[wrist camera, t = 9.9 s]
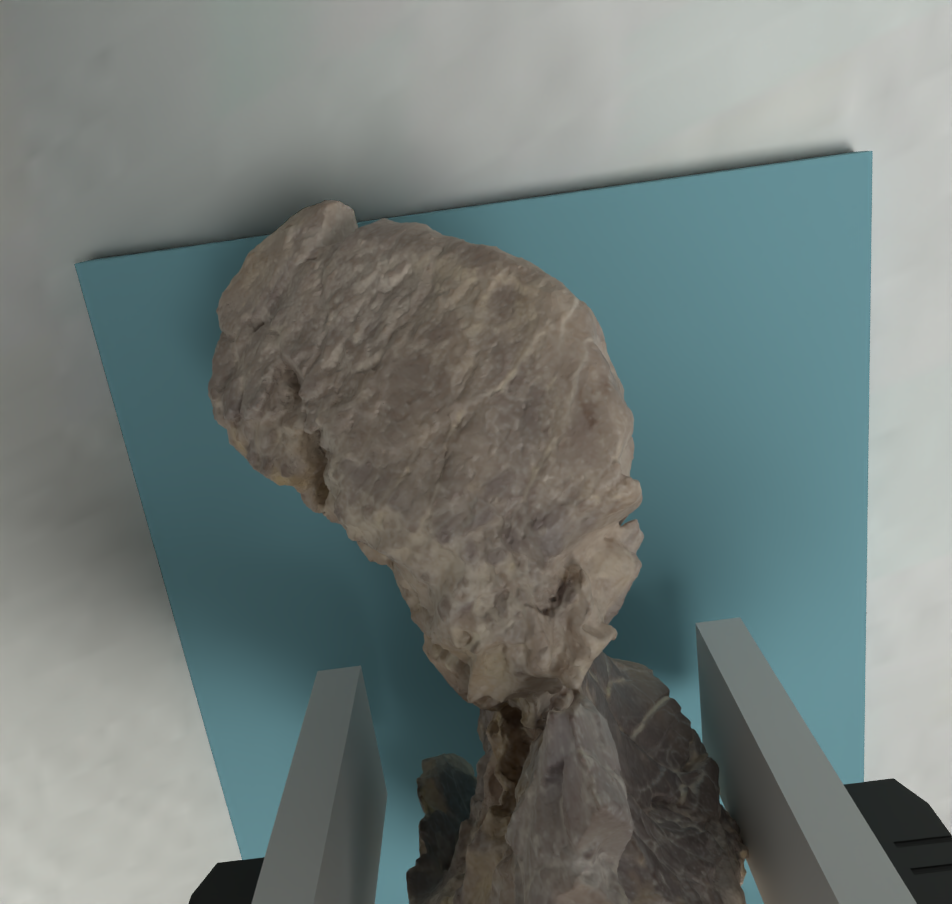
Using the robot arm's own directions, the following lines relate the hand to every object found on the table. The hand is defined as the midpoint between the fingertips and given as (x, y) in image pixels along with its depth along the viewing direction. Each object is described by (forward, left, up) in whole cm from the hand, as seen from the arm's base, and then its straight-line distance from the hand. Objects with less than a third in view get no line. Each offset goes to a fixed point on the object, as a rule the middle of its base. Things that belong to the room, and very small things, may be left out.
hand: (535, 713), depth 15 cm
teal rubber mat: (0, 0, -2) cm, 2 cm away
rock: (-2, -1, -1) cm, 2 cm away
